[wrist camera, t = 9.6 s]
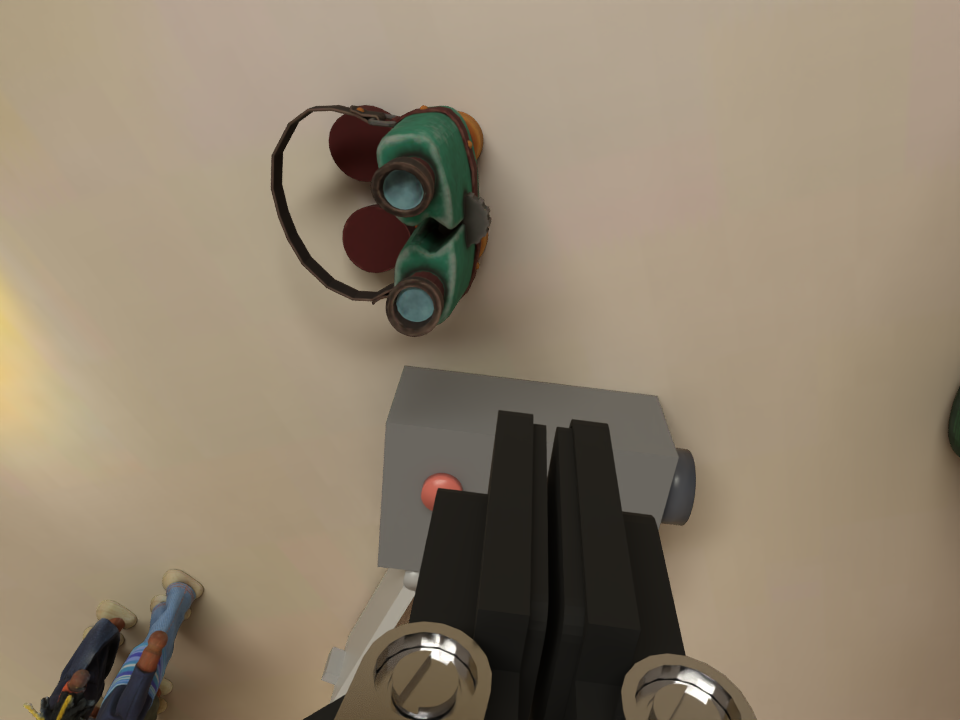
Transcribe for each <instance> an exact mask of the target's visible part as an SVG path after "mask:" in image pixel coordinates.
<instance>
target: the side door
mask: <svg viewBox="0 0 960 720" xmlns="http://www.w3.org/2000/svg"><path fill="white" fill-rule="evenodd" d="M419 573H420V572H418V571H409V570H401V569H393V568H388V570H387V572H386V573H385V575H384V577H383V578H382V580H381V582H380V583H379V585H378V587H377V588H376V590H375V592H374V594H373V595H372V597H371V599H370V600H369V602H368V604H367V605H366V607H365V609H364V610H363V612H362V614H361V616H360V617H359V619H358V621H357V622H356V624H355V626H354V627H353V629H352V631H351V632H350V634H349V636H348V639H347V643H346V646H345V650H342V649H339V648H337V647H334V646H333V648H332V650H331V651H330V653H329V656H328V659H327V662H326V666H325V669H324V672H323V676H322V679H321V680H323V681H326V682H328V683H331V684H334V685H335V686H334V690H333V693H332V697H331V701H330V703H332V702H333V701H335V700H337V699H338V698H340V697H342V696H343V695H345V694H346V693H347V691H348V688H349V686H350V684H351V682H352V680H353V678H354V675H355V673H356V671H357V669H358V667H359V665H360V662H361V660H362V658H363V656H364V655H365V653H366V652H367V651H368V649H369V648H370V646H371V645H372V643H373V642H374V641H375V640H377V639H378V638H379V637H381V636H382V635H383V634H384V633H386V632H387V631H389V630H391V629H394V628H395V626H396V624H397V623H398V621H399V620H400V618H401V616H402V615H403V613H404V612H405V610H406V609H407V607H408V605H409V604H410V602H411V601H412V599H413V597H414V596H415V591H416V587H417V582H418V577H419Z"/></svg>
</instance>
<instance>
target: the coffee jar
mask: <svg viewBox="0 0 960 720" xmlns="http://www.w3.org/2000/svg"><path fill="white" fill-rule="evenodd" d="M948 433H949V440H950V444H951V447H952V448H953V450H954V452H955V453H956V454H957V455H958V456H959V457H960V387H959V389H958V392H957V395H956V397H955V399H954V402H953V406H952V410H951V414H950V419H949V432H948Z"/></svg>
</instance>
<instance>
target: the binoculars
mask: <svg viewBox="0 0 960 720" xmlns="http://www.w3.org/2000/svg"><path fill="white" fill-rule="evenodd" d="M313 111H335V112H339V113H343V114H344V115H342V116H341V117H340V118H338V119H337V120H336V122H335V123H334V124H333V126H332V128H331V131H330V135H329V148H330V152H331V155H332V157H333V159H334V161H335V163H336V164H337V166H338V167H339V168H340V169H341V170H342V171H343V172H344V173H345V174H346V175H348V176H350V177H351V178H353V179H356V180H359V181H365V182H370V181H371V191H372V194H373V197H374V199H375V201H376V202H377V204H376V205H371V206H367V207H364V208H361V209H358V210H357V211H355V212H354V213H353V214H352V215H351V216H350V217H349V218H348V219H347V221H346V223H345V225H344V229H343V245H344V248H345V251H346V253H347V255H348V257H349V258H350V260H351V261H352V262H353V263H354V264H355V265H356V266H358V267H359V268H361V269H362V270H365V271H368V272H373V273H380V272H385V271H388V270H390V269H392V268H394V267H395V277H394V283H393V284H390V285H389V286H387V287H385V288H383V289H382V290H380V291H378V292H371V291H358V290H356V289H354V288H352V287H350V286H348V285H346V284H344V283H342V282H339V281H337V280H335V279H334V278H333V277H332V276H331V275H330V274H329V273H328V272H327V271H326V270H325V269H323V268H322V267H321V266H320V265H319V264H318V263H317V262H316V261H315V260H314V259H313V258H312V257H311V255H310V254H309V252H308V250H307V249H306V247H305V245H304V244H303V242H302V240H301V238H300V237H299V235H298V233H297V231H296V228H295V226H294V223H293V221H292V218H291V216H290V213H289V210H288V206H287V202H286V198H285V194H284V190H283V186H282V167H283V151H284V149H285V148H286V146H287V144H288V142H289V140H290V138H291V136H292V134H293V132H294V131H295V129H296V127H297V125H298V123H299V122H300V121H301V120H302V119H304V118H305V117H306V116H308V115H309V114H311V113H312V112H313ZM482 147H483V134H482V131H481V128H480V126H479V124H478V123H477V122H476V121H475V119H474V118H472V117H471V116H470V115H468V114H466V113H464V112H459V111H456V110H455V109H453V108H451V107H448V106H435V107H427V106H424V105H423V106H421V108H420V109H415V110H413V111H410V112H408V113H406V114H404V115H402V116H401V117H400V116H395V115H391V114H390V113H388V112H386V111H384V110H383V109H380V108H377V107H374V106H368V105H363V106H353V105H352V106H350V108H349V107H345V106H341V105H333V106H315V107H312V108H309V109H307V110H306V111H304V112H303V113H302V114H300V115H299V116H297V117H296V118H295V119H293V120H292V121H291V122H289V123H288V125H287V127H286V129H285V131H284V133H283V134H282V136H281V138H280V140H279V142H278V144H277V146H276V148H275V150H274V152H273V154H272V160H271V191H272V195H273V199H274V203H275V207H276V211H277V215H278V218H279V220H280V223H281V225H282V228H283V230H284V233H285V235H286V238H287V240H288V242H289V244H290V245H291V247H292V249H293V250H294V252H295V254H296V255H297V257H298V259H299V260H300V262H301V264H302V265H303V266H304V267H305V268H306V269H307V270H308V271H309V272H310V273H311V274H312V275H314V276H315V277H316V278H317V279H318V280H319V281H320V282H321V283H322V284H323V285H324V286H325V287H326V288H328V289H330V290H332V291H334V292H336V293H338V294H340V295H342V296H345V297H347V298H349V299H351V300H356V301H373V302H372V304H373V305H374V304H375V302H377V301H379V300H380V299H383V298H387V301H386V314H387V317H388V320H389V322H390V323H391V325H392V326H393V327H394V328H395V329H396V330H397V331H398V332H400V333H402V334H404V335H407V336H412V337H416V336H422V335H425V334H427V333H428V332H430V331H432V329H433V328H434V327H435V326H436V325H438V324H441V323H442V322H443V321H445V320H446V319H447V318H448V317H449V315H450V314H451V313H452V311H453V309H454V308H455V306H456V305H457V303H458V302H459V300H460V299H461V298H462V297H463V296H464V295H465V294H466V293H467V292H468V290H469V288H470V286H471V284H472V282H473V280H474V278H475V276H476V270H477V269H478V268H479V263H478V259H479V257H480V256H481V255H482V253H483V251H484V249H485V246H486V244H487V240H488V230H489V228H488V227H489V226H490V224H491V218H490V217H489V212H490V209H489V207H488V206H486V205H485V204H484V200H483V199H482V198H481V197H480V198H479V183H478V169H477V161H476V160H477V158H478V157H479V156H480V153H481V151H482Z"/></svg>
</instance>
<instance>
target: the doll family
mask: <svg viewBox="0 0 960 720" xmlns="http://www.w3.org/2000/svg"><path fill="white" fill-rule="evenodd" d="M162 584H163V587H164V589H165V590H166V596H164V595H158V596H155V597H154V598H153V599H152V600H151V605H150V610H151V612H152V615H151V621H150V630H149V633H148V635H147V637H146V639H145V640H144V642H143V643H141V644H140V645H138V646H136V647H135V648H134V649H133V650H132V651H131V653H130V655H129V656H128V658H127V660H126V661H125V663H124V664H123V666H122V668H121V670H120V671H119V673H118V674H117V676H116V678H115V679H114V681H113V682H112V684H111V686H110V688H109V690H108V692H107V694H106V696H105V697H104V699H103V698H102V697H101V696H102V693H103V690H104V685H105V683H104V680H105V679H106V677H107V676H108V674H109V673H110V671H111V668H112V666H113V664H114V660H115V657H116V653H117V650H118V647H119V646H120V645H122V644H123V642H124V638H123V636H122V635H121V634H120V631H121V630H122V628H123V629H128V628H131V627H132V626H134V625H135V624H136V622H137V618H136V616H135V615H134V614H133V613H132V612H130V611H129V610H128V609H126V608H125V607H123V606H122V605H120V604H118V603H116V602H114V601H109V600H106V601H103V602H101V603H100V604H99V606H98V608H97V611H96V614H97V618H98V620H99V621H98V622H97V623H96V624H95V626H94V627H89V628H87V629H86V630H85V631H84V634H83V641H82V643H81V644H80V646H79V647H78V649H77V650H76V652H75V653H74V655H73V656H72V658H71V659H70V661H69V662H68V664H67V665H66V667H65V668H64V670H63V672H62V674H61V677H60V681H59V683H58V685H57V687H56V688H55V690H54V691H53V693H52V695H51V696H50V698H49V697H45V698H43V699H42V700H41V709H40V711H41V713H38V712H36V711H35V709H34V708H33V706H32V704H31V703H29V704H28V703H26V704H24V705H23V707H25V708H26V709H28V710H29V712H30V713H32V714H33V716H34V717H36V720H156V718H157V714H160V713H162V712H163V711H164V710H165V709H166V708H167V703H166V701H165V700H163V699H162V698H160V695H166V694H168V693H169V692H171V690H172V688H173V685H172V683H171V682H170V681H169V680H167V679H165V678H163V676H164V673H165V669H166V666H167V664H168V662H169V660H170V658H171V656H172V653H173V647H174V640H175V638H176V635H177V632H178V629H179V627H180V625H181V623H182V622H183V621H184V620H186V619H188V618H189V617H190V615H191V609H190V608H189V607H190V606H191V604H192V603H193V601H194V600H195V599H196V598H198V597H200V596H201V595H202V593H203V587H202V585H201V584H200V583H198V582H197V581H196V580H194V579H193V578H191V577H190V576H188V575H187V574H185V573H184V572H182V571H179V570H170V571H167V572H166V573H165V575H164V576H163V580H162Z"/></svg>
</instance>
